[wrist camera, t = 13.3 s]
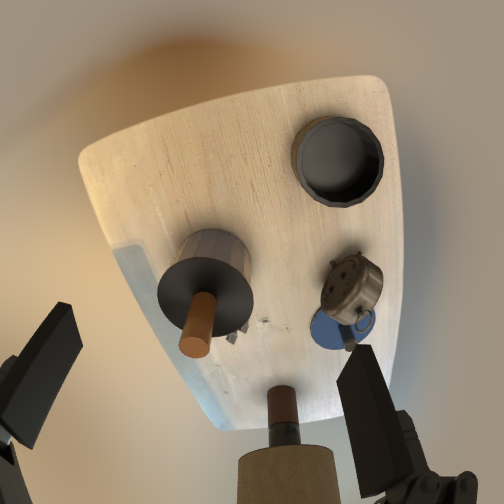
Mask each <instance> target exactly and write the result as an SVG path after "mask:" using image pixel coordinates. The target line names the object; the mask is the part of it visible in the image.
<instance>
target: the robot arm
mask: <svg viewBox="0 0 504 504" xmlns="http://www.w3.org/2000/svg"><path fill="white" fill-rule="evenodd" d="M82 347H83V344H82V341H81V338H80V334H79V331H78V328H77V324H76V321H75V317H74V314H73V310H72V306H71V305H70V304H67V303H63V302H58V303H57V304H56V306H55V307H54V308H53V309H52V311H51V312H50V313H49V314H48V316H47V317H46V318H45V320H44V321H43V322H42V324H41V325H40V326H39V328H38V329H37V331H36V332H35V333H34V335H33V336H32V338H31V339H30V340H29V342H28V343H27V344H26V346H25V347H24V349H23V350H22V352H21V353H20V355H19V356H18V357H17V356H14V355H12V356H11V357H9V358H8V359H7V360H6V361H4V363H3V364H2V366H1V367H0V504H33V503H32V501H31V498H30V496H29V493H28V490H27V488H26V485H25V482H24V479H23V476H22V473H21V470H20V467H19V463H18V460H17V457H16V453H15V449H14V445H13V443H12V441H11V439H12V437H14V438H15V439H16V440H17V441H18V442H19V443H20V444H22V445H24V446H26V447H27V448H29V449H31V450H32V449H33V447H34V444H35V442H36V439H37V437H38V435H39V432H40V430H41V428H42V426H43V424H44V421H45V419H46V417H47V415H48V412H49V410H50V409H51V406H52V404H53V402H54V400H55V398H56V396H57V394H58V392H59V390H60V388H61V386H62V384H63V382H64V380H65V378H66V376H67V375H68V373H69V371H70V369H71V367H72V365H73V363H74V362H75V360H76V358H77V356H78V354H79V353H80V350H81V349H82ZM336 382H337V386H338V390H339V395H340V399H341V403H342V407H343V412H344V416H345V420H346V425H347V429H348V434H349V439H350V443H351V448H352V453H353V458H354V463H355V468H356V473H357V479H358V484H359V489H360V495H361V498H367V497H372V496H376V495H378V494H380V493H382V492H384V491H385V494H386V496H384V497H382V498H381V499H379V500H377V501H376V502H375V503H374V504H378V503H380V502H381V503H380V504H476V501H477V490H478V481H477V478H476V476H475V474H473V473H472V472H470V471H465V472H463V473H461V474H460V475H458V476H457V477H441V476H439V475H438V474H436V473H435V472H433V471H431V470H430V469H429V467H428V465H427V462H426V459H425V456H424V452H423V449H422V446H421V444H420V441H419V439H418V435H417V432H416V431H415V426H414V424H413V421H412V418H411V417H410V416H409V415H408V414H407V412H406V411H405V410H401V411H396V410H395V407H394V404H393V402H392V399H391V396H390V393H389V391H388V388H387V385H386V383H385V380H384V377H383V375H382V372H381V370H380V367H379V364H378V362H377V359H376V357H375V354H374V352H373V349H372V347H371V345H368V344H356V346H355V348H354V349H353V351H352V353H351V355H350V357H349V359H348V361H347V363H346V365H345V367H344V368H343V370H342V372H341V374H340V376H339V377H338V379H337V381H336Z"/></svg>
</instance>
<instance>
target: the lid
mask: <svg viewBox="0 0 504 504" xmlns="http://www.w3.org/2000/svg"><path fill="white" fill-rule="evenodd" d="M157 296H158V302H159V305H160V307H161V310H162V311H163V313H164V315H165V316H166V317H167V318H168V319H169V321H170V322H171V323H173V324H174V325H175V326H176V327H178V328H180V329H181V330H183V331H182V334H181V338H180V341H179V349H180V351H181V352H182V353H183V354H184V355H186V356H188V357H191V358H203V357H205V356H206V355H207V354H208V353H209V350H210V343H211V337H220V336H225V335H228V334H231V333H233V332H235V331H237V330H238V329H240V328H241V327H242V326H243V325H244V324H245V323H246V322H247V321H248V319H249V318H250V316H251V313H252V310H253V303H254V301H253V293H252V289H251V287H250V285H249V283H248V281H247V280H246V278H245V277H244V276H243V275H242V274H241V273H240V272H239V271H238V270H237V269H236V268H234V267H233V266H231V265H229V264H228V263H225V262H223V261H221V260H218V259H214V258H209V257H192V258H187V259H184V260H181V261H179V262H177V263H175V264H173V265H172V266H171V267H169V268H168V269H167V270H166V272H165V273H164V274H163V276H162V278H161V280H160V282H159V285H158V291H157Z"/></svg>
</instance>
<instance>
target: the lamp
mask: <svg viewBox="0 0 504 504" xmlns="http://www.w3.org/2000/svg"><path fill="white" fill-rule="evenodd" d="M267 400H268V429H269V447H268V448H263V449H259V450H255V451H252V452H249V453H247V454H245V455H244V456H242V457H241V458H240V459H239V461H238V489H237V504H341V501H340V494H339V487H338V480H337V474H336V467H335V461H334V455H333V452H332V451H331V450H330V449H329V448H326V447H323V446H318V445H308V444H307V445H305V444H301V438H300V430H299V420H298V411H297V402H296V394H295V390H294V389H293V388H292V387H289V386H276V387H273V388H272V389H270V390H269V391H268V393H267Z"/></svg>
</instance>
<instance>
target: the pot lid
mask: <svg viewBox="0 0 504 504" xmlns="http://www.w3.org/2000/svg"><path fill="white" fill-rule="evenodd" d="M371 312H372V314H373V320H372V323H371V326H370V327H369V329H368V330H367V331H365V332H363V333H358V332H357V331H356V329H355V324H352V325H343V324H341V323H340V322H338V321H336V320H334V319H333V318H331V317H329V316H327V315H326V314H325V313H324V312H323V310H322V309H320V311H319V312H318V313H317V314H316V315H315V317H314V318H313V321H312V323H311V335H312V338H313V340H314V341H315V342H316V343H317V344H318V345H319V346H321V347H323V348H326V349H332V350H339V349H345V350H346V351H348V352H351V351H353V349H354V348H355V346H356V344H358V343H359V342H361V341H362V340H363V339H364V338H366V337H367V336H368V334H369V333H370V332H371V330H372V329H373V327H374V324H375V319H376V316H375V311H374V309H372V310H371ZM370 318H371V315H370V313H369V314H368V315H367V316H366V317H365V318H363V319H362V320H361V321H359V322H357V328H358V330H360V331H362V330H365V329H366V328H367V326H368V325H369V323H370Z"/></svg>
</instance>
